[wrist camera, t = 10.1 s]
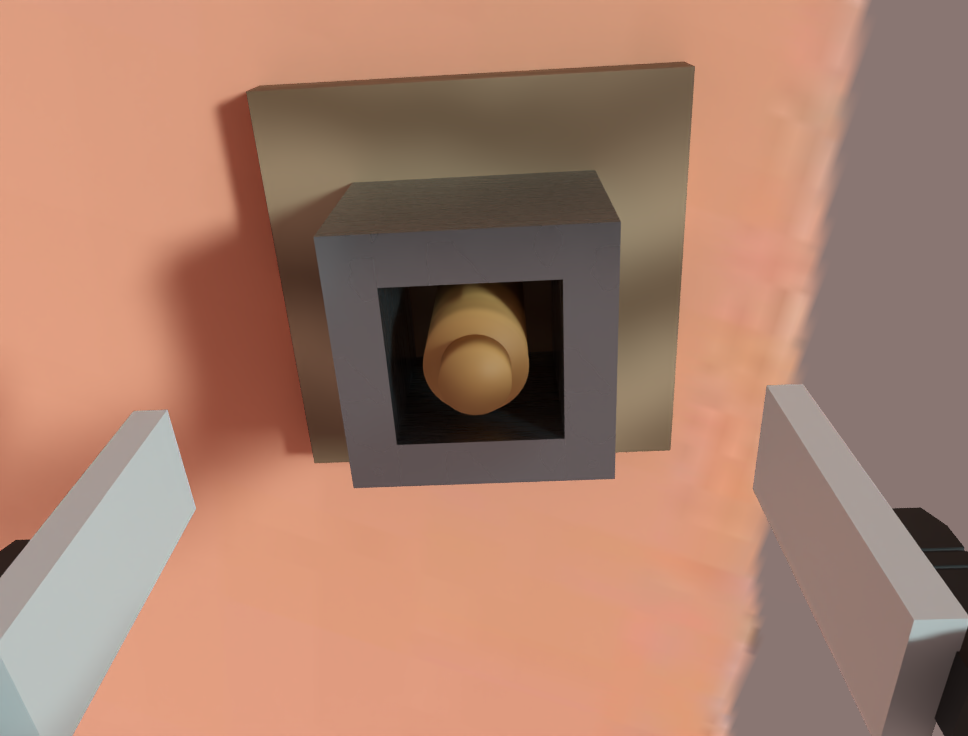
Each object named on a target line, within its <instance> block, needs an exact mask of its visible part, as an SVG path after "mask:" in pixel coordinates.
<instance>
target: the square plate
mask: <svg viewBox="0 0 968 736" xmlns="http://www.w3.org/2000/svg"><path fill="white" fill-rule="evenodd" d="M694 71H695V66H693V65H690V64H688V63H686V62H672V63H654V64H636V65H619V66H601V67H583V68H566V69H548V70H530V71H512V72H495V73H477V74H459V75H442V76H424V77H406V78H389V79H371V80H353V81H336V82H318V83H300V84H283V85H265V86H258V87H256V88H253V89H251V90H249V91H247V92H246V93H247V99H248V104H249V110H250V115H251V120H252V126H253V131H254V137H255V142H256V148H257V153H258V159H259V164H260V169H261V175H262V180H263V186H264V191H265V197H266V202H267V207H268V213H269V218H270V224H271V229H272V235H273V240H274V245H275V251H276V256H277V262H278V267H279V273H280V278H281V283H282V289H283V294H284V300H285V305H286V311H287V316H288V322H289V327H290V332H291V338H292V343H293V349H294V354H295V360H296V365H297V370H298V376H299V381H300V387H301V392H302V398H303V403H304V408H305V414H306V419H307V425H308V430H309V436H310V441H311V446H312V452H313V457H314V463H332V462H350V461H349V455H348V449H347V443H346V436H345V430H344V424H343V418H342V412H341V405H340V399H339V393H338V387H337V380H336V374H335V368H334V362H333V356H332V349H331V343H330V337H329V331H328V324H327V318H326V312H325V306H324V299H323V293H322V287H321V281H320V275H319V268H318V262H317V256H316V250H315V243H314V235H315V234H316V233H317V231H318V230H319V228H320V227H321V226H322V224H323V223H324V222H325V220H326V219H327V217H328V216H329V215H330V213H331V212H332V210H333V209H334V208H335V206H336V205H337V203H338V202H339V201H340V199H341V198H342V197H343V195H344V194H345V192H346V191H347V190H348V188H349V187H350V185H351V184H352V183H354V182H373V181H393V180H412V179H431V178H450V177H470V176H489V175H508V174H527V173H547V172H566V171H585V170H595V171H596V173H597V175H598V177H599V179H600V181H601V183H602V185H603V187H604V189H605V191H606V193H607V195H608V197H609V199H610V201H611V203H612V205H613V207H614V209H615V211H616V213H617V215H618V217H619V219H620V221H621V243H620V283H619V323H618V363H617V404H616V444H615V452H637V451H665V450H670V447H671V431H672V415H673V400H674V384H675V368H676V353H677V337H678V322H679V306H680V290H681V275H682V259H683V243H684V228H685V212H686V196H687V181H688V165H689V150H690V134H691V118H692V103H693V87H694ZM409 293H410V302H411V311H412V321H413V330H414V340H415V349H416V357H424V358H423V371H424V376H425V379H426V382H427V384H428V386H429V387H430V389H431V390H432V392H433V393H434V394H435V395H436V396H437V397H438V398H439V399H440V400H441V401H443V402H444V403H446V404H447V405H449V406H451V407H452V408H453V409H455V410H457V411H459V412H461V413H465V414H469V415H482V414H487V413H489V412H492V411H494V410H496V409H498V408H500V407H502V406H504V405H506V404H507V403H509V402H510V401H512V400H513V399H514V398H515V397H516V396H517V395H518V394H519V393H520V391H521V390H522V388H523V387H524V385H525V383H526V380H527V377H528V372H529V358H528V352H545V351H552V301H551V280H540V281H518V282H496V283H475V284H453V285H432V286H410V287H409Z"/></svg>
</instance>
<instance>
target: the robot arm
mask: <svg viewBox="0 0 968 736" xmlns="http://www.w3.org/2000/svg"><path fill="white" fill-rule="evenodd" d="M753 490H754V493H755V495H756V497H757V499H758V501H759V503H760V505H761V507H762V509H763V511H764V513H765V515H766V518H767V520H768V522H769V524H770V526H771V528H772V530H773V532H774V534H775V536H776V538H777V540H778V542H779V545H780V547H781V549H782V551H783V553H784V555H785V557H786V559H787V561H788V563H789V565H790V567H791V570H792V572H793V574H794V576H795V578H796V580H797V582H798V584H799V586H800V588H801V590H802V592H803V595H804V597H805V599H806V601H807V603H808V605H809V607H810V609H811V611H812V613H813V615H814V617H815V619H816V622H817V624H818V626H819V628H820V630H821V632H822V634H823V636H824V638H825V640H826V642H827V644H828V646H829V649H830V651H831V653H832V655H833V657H834V659H835V661H836V663H837V665H838V667H839V669H840V672H841V674H842V676H843V677H844V680H845V682H846V684H847V686H848V688H849V690H850V692H851V694H852V697H853V699H854V701H855V703H856V705H857V707H858V709H859V711H860V713H861V715H862V717H863V719H864V722H865V724H866V726H867V728H868V730H869V732H870V734H871V736H932V733H933V730H934V727H935V724H936V722H937V724H938V725H939V727H940V729H941V731H942V732H943V734H944V736H968V552H967V551H964V547H963V545H962V544H961V543H960V541H959V540H958V539H957V538H956V536H955V535H954V534H953V533H952V531H951V530H950V529H949V528H948V526H947V525H945V524H944V523H942V522H941V521H939V520H938V519H937V518H935V517H934V516H932V515H931V514H929V513H928V512H926V511H925V510H923V509H922V508H895V509H892V508H891V507H890V505H889V504H888V503H887V501H886V500H885V498H884V497H883V495H882V494H881V493H880V491H879V490H878V489H877V487H876V486H875V484H874V483H873V481H872V480H871V479H870V477H869V476H868V474H867V473H866V472H865V470H864V469H863V467H862V466H861V465H860V463H859V462H858V460H857V459H856V458H855V456H854V455H853V453H852V452H851V451H850V449H849V448H848V446H847V445H846V444H845V442H844V441H843V440H842V438H841V437H840V435H839V434H838V433H837V431H836V430H835V428H834V427H833V425H832V424H831V423H830V421H829V420H828V419H827V417H826V416H825V414H824V413H823V412H822V410H821V409H820V407H819V406H818V405H817V403H816V402H815V400H814V399H813V398H812V396H811V395H810V393H809V392H808V391H807V389H806V388H805V387H804V385H803V384H791V385H767V387H766V395H765V402H764V409H763V417H762V424H761V432H760V439H759V447H758V454H757V461H756V469H755V476H754V484H753ZM195 510H196V507H195V503H194V500H193V496H192V493H191V489H190V486H189V483H188V479H187V476H186V472H185V469H184V465H183V462H182V458H181V455H180V452H179V448H178V445H177V441H176V438H175V434H174V431H173V428H172V424H171V421H170V417H169V414H168V410H148V411H133V412H132V414H131V415H130V416H129V417H128V419H127V420H126V421H125V422H124V424H123V425H122V426H121V427H120V429H119V430H118V431H117V432H116V434H115V435H114V436H113V437H112V439H111V440H110V441H109V442H108V444H107V445H106V446H105V447H104V449H103V450H102V451H101V452H100V454H99V455H98V456H97V457H96V459H95V460H94V461H93V462H92V464H91V465H90V466H89V467H88V469H87V470H86V471H85V472H84V474H83V475H82V476H81V477H80V479H79V480H78V481H77V482H76V484H75V485H74V486H73V487H72V489H71V490H70V491H69V492H68V494H67V495H66V496H65V497H64V499H63V500H62V501H61V502H60V504H59V505H58V506H57V507H56V509H55V510H54V511H53V512H52V514H51V515H50V516H49V517H48V519H47V520H46V521H45V522H44V524H43V525H42V526H41V527H40V529H39V530H38V531H37V532H36V534H35V535H34V536H33V537H32V539H31V540H15V541H14V542H12V543H11V544H10V545H8V546H7V547H5V548H4V549H3V550H1V551H0V736H72V735H73V734H74V732H75V730H76V728H77V726H78V724H79V723H80V721H81V719H82V717H83V715H84V713H85V712H86V710H87V708H88V706H89V704H90V702H91V701H92V699H93V697H94V695H95V693H96V691H97V690H98V688H99V686H100V684H101V682H102V680H103V678H104V677H105V675H106V673H107V671H108V669H109V667H110V666H111V664H112V662H113V660H114V658H115V656H116V655H117V653H118V651H119V649H120V647H121V645H122V644H123V642H124V640H125V638H126V636H127V634H128V633H129V631H130V629H131V627H132V625H133V623H134V622H135V620H136V618H137V616H138V614H139V612H140V611H141V609H142V607H143V605H144V603H145V601H146V600H147V598H148V596H149V594H150V592H151V590H152V589H153V587H154V585H155V583H156V581H157V579H158V578H159V576H160V574H161V572H162V570H163V568H164V566H165V565H166V563H167V561H168V559H169V557H170V555H171V554H172V552H173V550H174V548H175V546H176V544H177V543H178V541H179V539H180V537H181V535H182V533H183V532H184V530H185V528H186V526H187V524H188V522H189V521H190V519H191V517H192V515H193V513H194V511H195Z"/></svg>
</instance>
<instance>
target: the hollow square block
mask: <svg viewBox="0 0 968 736" xmlns="http://www.w3.org/2000/svg"><path fill="white" fill-rule="evenodd" d="M314 243H315V250H316V256H317V262H318V268H319V275H320V281H321V287H322V293H323V299H324V306H325V312H326V318H327V324H328V331H329V337H330V343H331V349H332V356H333V362H334V368H335V374H336V380H337V387H338V393H339V399H340V405H341V412H342V418H343V424H344V430H345V436H346V443H347V449H348V455H349V461H350V468H351V474H352V480H353V486H354V488H369V487H397V486H425V485H453V484H482V483H510V482H538V481H566V480H595V479H615V444H616V404H617V363H618V323H619V283H620V243H621V221H620V219H619V217H618V215H617V213H616V211H615V209H614V207H613V205H612V203H611V201H610V199H609V197H608V195H607V193H606V191H605V189H604V187H603V185H602V183H601V181H600V179H599V177H598V175H597V173H596V171H595V170H585V171H566V172H547V173H527V174H508V175H489V176H470V177H450V178H431V179H412V180H393V181H373V182H354V183H352V184H351V185H350V187H349V188H348V190H347V191H346V192H345V194H344V195H343V197H342V198H341V199H340V201H339V202H338V203H337V205H336V206H335V208H334V209H333V210H332V212H331V213H330V215H329V216H328V217H327V219H326V220H325V222H324V223H323V224H322V226H321V227H320V228H319V230H318V231H317V233H316V234H315V235H314ZM540 280H551V301H552V351H545V352H528V358H529V372H528V377H527V380H526V383H525V385H524V387H523V388H522V390H521V391H520V393H519V394H518V395H517V396H516V397H515V398H514V399H513V400H512V401H510V402H509V403H507V404H506V405H504V406H502V407H500V408H498V409H496V410H494V411H492V412H489V413H487V414H482V415H469V414H465V413H461V412H459V411H457V410H455V409H453V408H452V407H451V406H449V405H447V404H446V403H444V402H443V401H441V400H440V399H439V398H438V397H437V396H436V395H435V394H434V393H433V392H432V390H431V389H430V387H429V386H428V384H427V382H426V379H425V376H424V371H423V358H424V357H416V349H415V340H414V330H413V321H412V311H411V302H410V293H409V287H410V286H432V285H453V284H475V283H496V282H518V281H540Z"/></svg>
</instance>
